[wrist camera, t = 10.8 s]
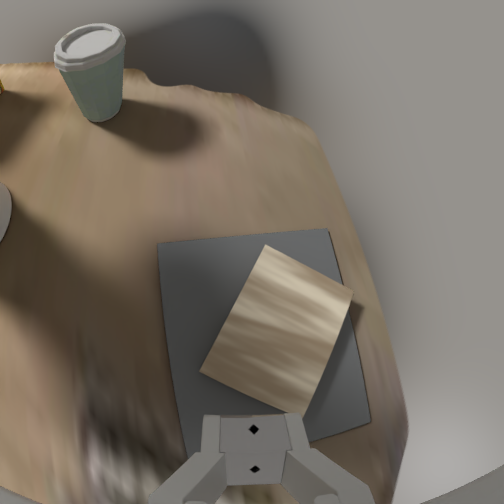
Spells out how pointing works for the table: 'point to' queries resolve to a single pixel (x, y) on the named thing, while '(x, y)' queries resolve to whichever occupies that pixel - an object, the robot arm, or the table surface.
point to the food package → (1, 88)
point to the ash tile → (279, 333)
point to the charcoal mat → (215, 314)
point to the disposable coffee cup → (93, 68)
